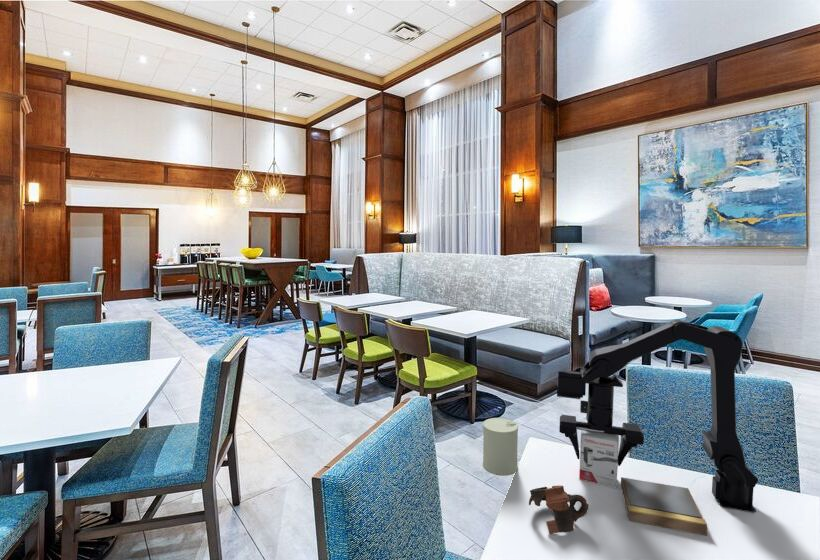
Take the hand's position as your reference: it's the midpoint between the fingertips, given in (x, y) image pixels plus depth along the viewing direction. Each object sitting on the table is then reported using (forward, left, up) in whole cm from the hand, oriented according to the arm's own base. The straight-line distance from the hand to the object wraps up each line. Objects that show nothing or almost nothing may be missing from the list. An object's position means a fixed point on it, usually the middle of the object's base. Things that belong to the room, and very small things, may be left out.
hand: (598, 461), depth 104 cm
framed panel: (-12, +8, -5) cm, 15 cm away
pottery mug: (+9, +20, -5) cm, 22 cm away
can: (+24, +2, -5) cm, 24 cm away
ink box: (0, 0, -5) cm, 5 cm away
